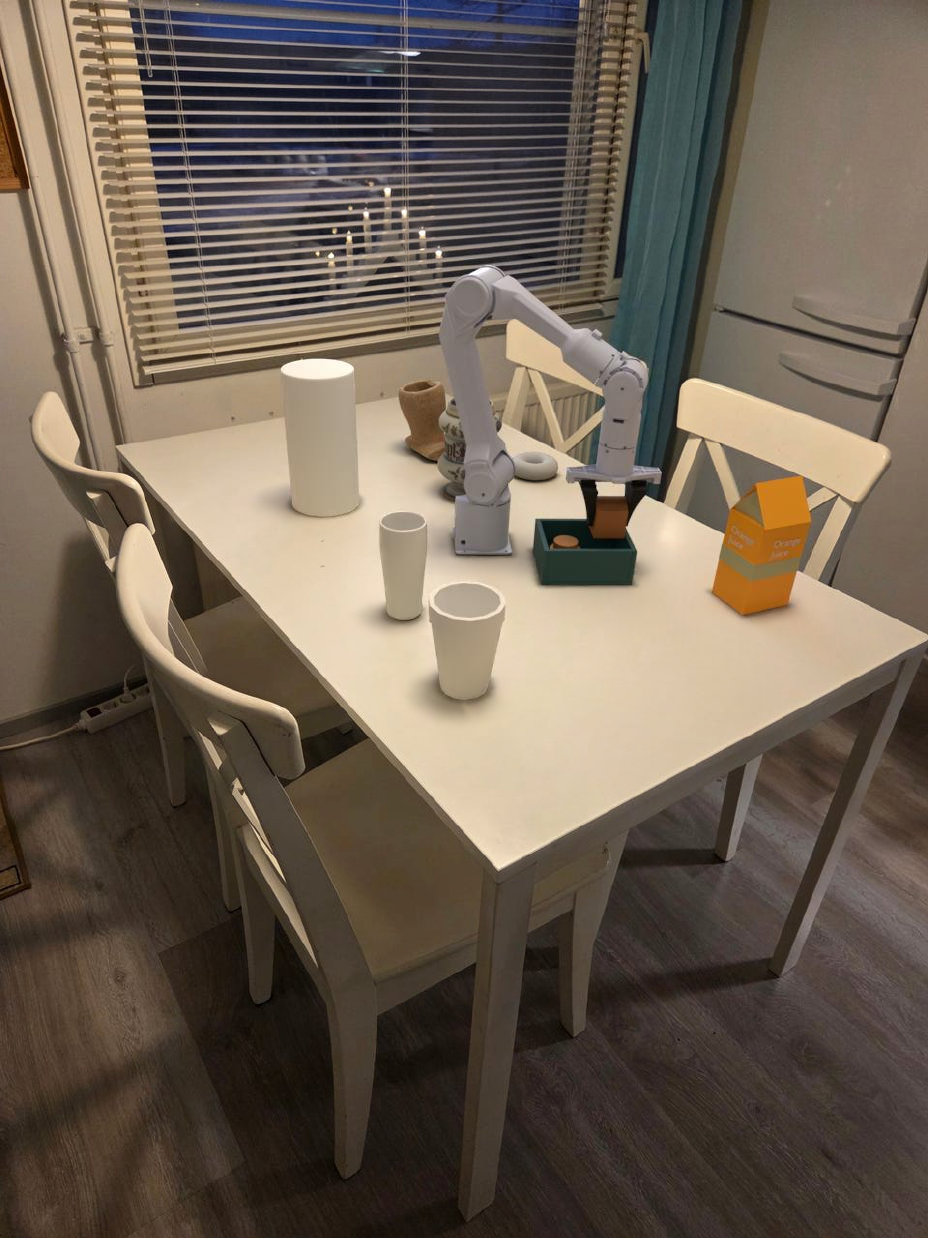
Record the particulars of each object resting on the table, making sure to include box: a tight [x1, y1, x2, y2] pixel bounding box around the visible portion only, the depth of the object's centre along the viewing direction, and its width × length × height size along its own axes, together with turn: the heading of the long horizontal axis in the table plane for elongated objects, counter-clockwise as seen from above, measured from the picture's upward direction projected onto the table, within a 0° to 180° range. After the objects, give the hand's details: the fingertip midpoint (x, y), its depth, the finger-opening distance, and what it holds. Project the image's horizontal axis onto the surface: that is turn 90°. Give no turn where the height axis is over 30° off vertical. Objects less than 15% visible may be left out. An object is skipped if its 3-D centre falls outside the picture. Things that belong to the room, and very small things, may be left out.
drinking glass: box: [378, 510, 428, 621], centre depth 119 cm, size 7×7×15 cm
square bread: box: [589, 495, 628, 538], centre depth 132 cm, size 5×5×6 cm
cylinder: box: [280, 358, 360, 518], centre depth 148 cm, size 12×12×25 cm
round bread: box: [550, 535, 580, 549], centre depth 134 cm, size 5×5×5 cm
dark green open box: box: [532, 518, 638, 586], centre depth 135 cm, size 15×12×6 cm
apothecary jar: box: [436, 396, 503, 502], centre depth 156 cm, size 12×12×18 cm
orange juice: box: [711, 475, 812, 616], centre depth 124 cm, size 8×9×20 cm
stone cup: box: [398, 379, 447, 462], centre depth 174 cm, size 15×12×15 cm
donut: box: [512, 451, 559, 481], centre depth 169 cm, size 10×4×10 cm
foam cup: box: [428, 580, 507, 701], centre depth 104 cm, size 10×9×13 cm
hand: (606, 523), depth 133 cm, fingers closed on square bread, 5 cm apart
